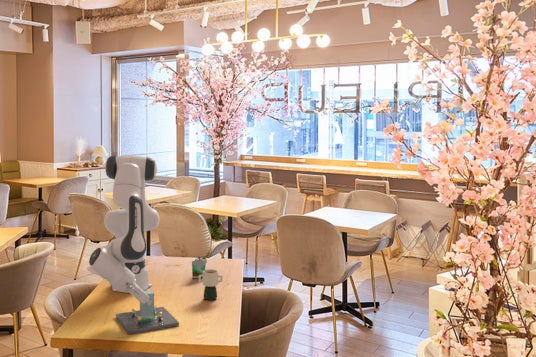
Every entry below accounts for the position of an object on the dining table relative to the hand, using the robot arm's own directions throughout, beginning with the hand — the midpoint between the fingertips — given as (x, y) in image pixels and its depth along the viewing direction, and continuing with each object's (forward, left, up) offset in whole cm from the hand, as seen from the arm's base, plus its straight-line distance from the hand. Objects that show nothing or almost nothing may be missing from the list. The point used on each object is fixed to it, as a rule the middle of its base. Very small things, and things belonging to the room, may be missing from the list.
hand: (148, 300), depth 211 cm
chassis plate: (0, -1, -8) cm, 9 cm away
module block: (0, -1, -5) cm, 5 cm away
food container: (-49, +42, -9) cm, 65 cm away
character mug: (-15, +33, -9) cm, 38 cm away
